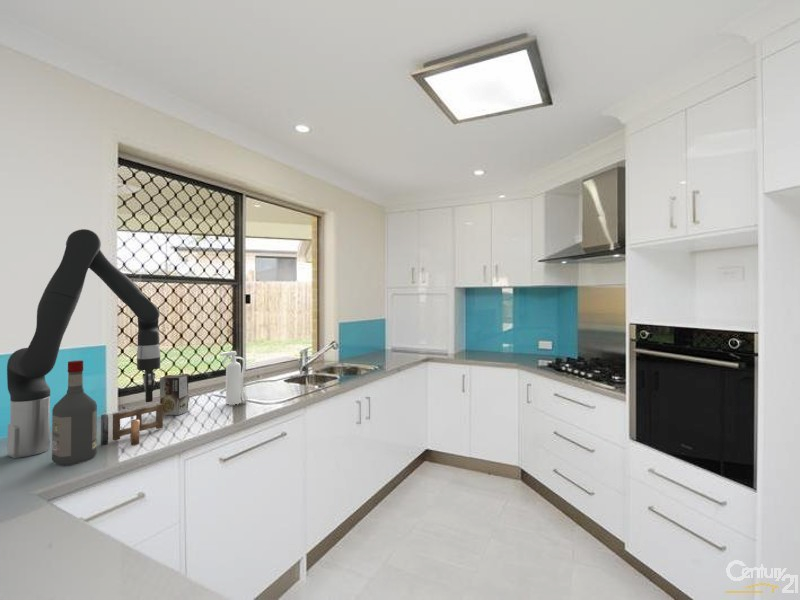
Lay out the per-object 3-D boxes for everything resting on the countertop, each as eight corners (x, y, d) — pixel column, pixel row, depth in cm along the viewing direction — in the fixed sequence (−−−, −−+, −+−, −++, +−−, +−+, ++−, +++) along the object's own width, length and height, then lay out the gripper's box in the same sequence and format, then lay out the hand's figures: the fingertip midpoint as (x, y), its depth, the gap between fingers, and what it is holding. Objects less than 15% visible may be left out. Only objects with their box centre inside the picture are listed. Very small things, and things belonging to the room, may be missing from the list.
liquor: (62, 468, 111) (63, 364, 111) (49, 461, 116) (50, 362, 116) (99, 457, 119) (100, 360, 119) (85, 451, 124) (86, 358, 124)
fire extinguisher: (248, 403, 182) (247, 350, 182) (220, 406, 178) (219, 352, 178) (249, 400, 188) (248, 349, 189) (222, 403, 184) (221, 351, 185)
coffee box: (188, 411, 169) (189, 374, 169) (179, 415, 163) (179, 377, 163) (169, 410, 170) (169, 374, 170) (159, 414, 164) (159, 377, 164)
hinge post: (102, 445, 129) (102, 415, 129) (99, 444, 130) (99, 414, 130) (109, 443, 130) (109, 414, 130) (106, 442, 131) (106, 413, 131)
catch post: (132, 445, 129) (133, 421, 129) (129, 444, 130) (129, 420, 130) (140, 443, 131) (140, 420, 131) (137, 442, 132) (137, 418, 132)
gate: (114, 440, 132) (114, 414, 132) (112, 439, 133) (112, 413, 133) (162, 427, 145) (162, 404, 145) (160, 427, 146) (160, 403, 146)
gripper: (161, 357, 144) (162, 403, 144) (158, 353, 155) (158, 396, 155) (137, 359, 140) (138, 407, 140) (136, 355, 150) (136, 399, 150)
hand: (149, 401), depth 147 cm, fingers closed
